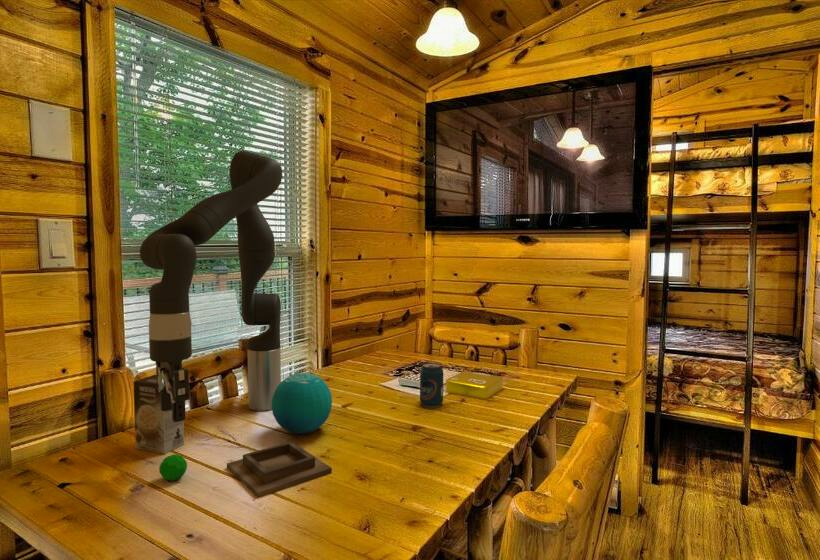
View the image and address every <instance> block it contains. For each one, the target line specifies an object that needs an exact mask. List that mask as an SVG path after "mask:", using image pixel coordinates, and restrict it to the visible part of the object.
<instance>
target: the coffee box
mask: <svg viewBox="0 0 820 560" xmlns="http://www.w3.org/2000/svg"><path fill="white" fill-rule="evenodd" d="M158 388H159V387H158ZM158 388H157V386H156V374H153V375H150V376H147V377H143V378H140V379H137V380H134V381H133V403H134V405H133V407H134V410H133V411H134V412H133V413H134V438H135V439H134V443H135V447H134V448H135V449H137V450H138V449H139V450H143V451H148V452H152V453H157V454H163V455H166V454H168V453H169V452H172V451H173V450H175V449H178V448H180V447H182V446H183V445H185V420H184V421H179V422H174V421H173V420H172V410H168V411H162V410H161V402H160V393H161V392H159V391H158ZM178 395H181V392H180V391H179V392H178Z"/></svg>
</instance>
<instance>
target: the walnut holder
mask: <svg viewBox="0 0 820 560" xmlns="http://www.w3.org/2000/svg"><path fill="white" fill-rule="evenodd" d="M226 468H227V470H229V472H230V473H232V474H233V475H234V476H235V478H237V479H238V480H239V481H240V482H241V483H242V484H243V485H244V486H245V487H246V488H247V489H248V490H249V491H250V492H251V493H252V494H253V495H254V496H255V497H256V498H262V497H264V496H267V495H269V494H273V493H275V492H279V491H282V490H284V489H288V488H290V487H293V486H296V485H300V484H302V483H305V482H308V481H311V480H314V479H317V478H320V477H323V476H326V475H329V474H332V472H333V471H332V470H333V469H332V467H331V466H330V465H328V464H327V463H325V462H324V461H322V460H321V459H319V458H318V457H316V456H315V455H313V454H311V453H310V452H309V451H307V450H306V449H305V448H302V447H301V446H300V445H298V444H297V443H294V442H293V441H288V442H285V443H280V444H277V445H273V446H270V447H266V448H262V449H259V450H255V451H251V452H248V453H245V454H242V458H241V459H238V460H237V459H236V460H234V461H230V462H226Z"/></svg>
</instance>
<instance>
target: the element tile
mask: <svg viewBox="0 0 820 560" xmlns="http://www.w3.org/2000/svg"><path fill="white" fill-rule="evenodd" d="M502 390H503V377H502V376H500V375H494V374H493V375H492V374H487V373H481V372H474V371H469V370H463V371H461V372H459V373H456V374H455V375H452V376H451V377H449V378H447V379H446V380H445V392H446V393H448V394H453V395H458V396H464V397H469V398H474V399H481V400H487V399H488V400H489V399H490V398H491V397H493V396H495V395H496V394H498V393H499V392H501V391H502Z"/></svg>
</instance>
